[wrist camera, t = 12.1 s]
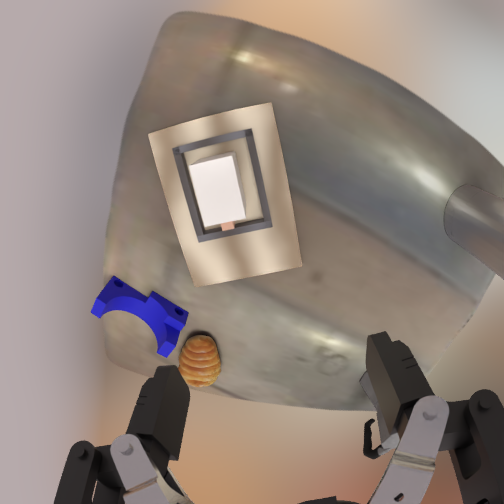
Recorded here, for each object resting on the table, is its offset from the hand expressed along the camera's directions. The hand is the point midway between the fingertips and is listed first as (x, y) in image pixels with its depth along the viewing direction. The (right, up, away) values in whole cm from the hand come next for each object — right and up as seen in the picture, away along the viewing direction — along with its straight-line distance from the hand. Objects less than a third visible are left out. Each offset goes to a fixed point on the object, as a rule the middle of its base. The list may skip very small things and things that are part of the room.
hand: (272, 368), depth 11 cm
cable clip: (-16, -2, +28) cm, 32 cm away
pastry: (-6, -10, +32) cm, 34 cm away
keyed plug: (-4, +13, +20) cm, 24 cm away
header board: (-4, +11, +22) cm, 25 cm away
